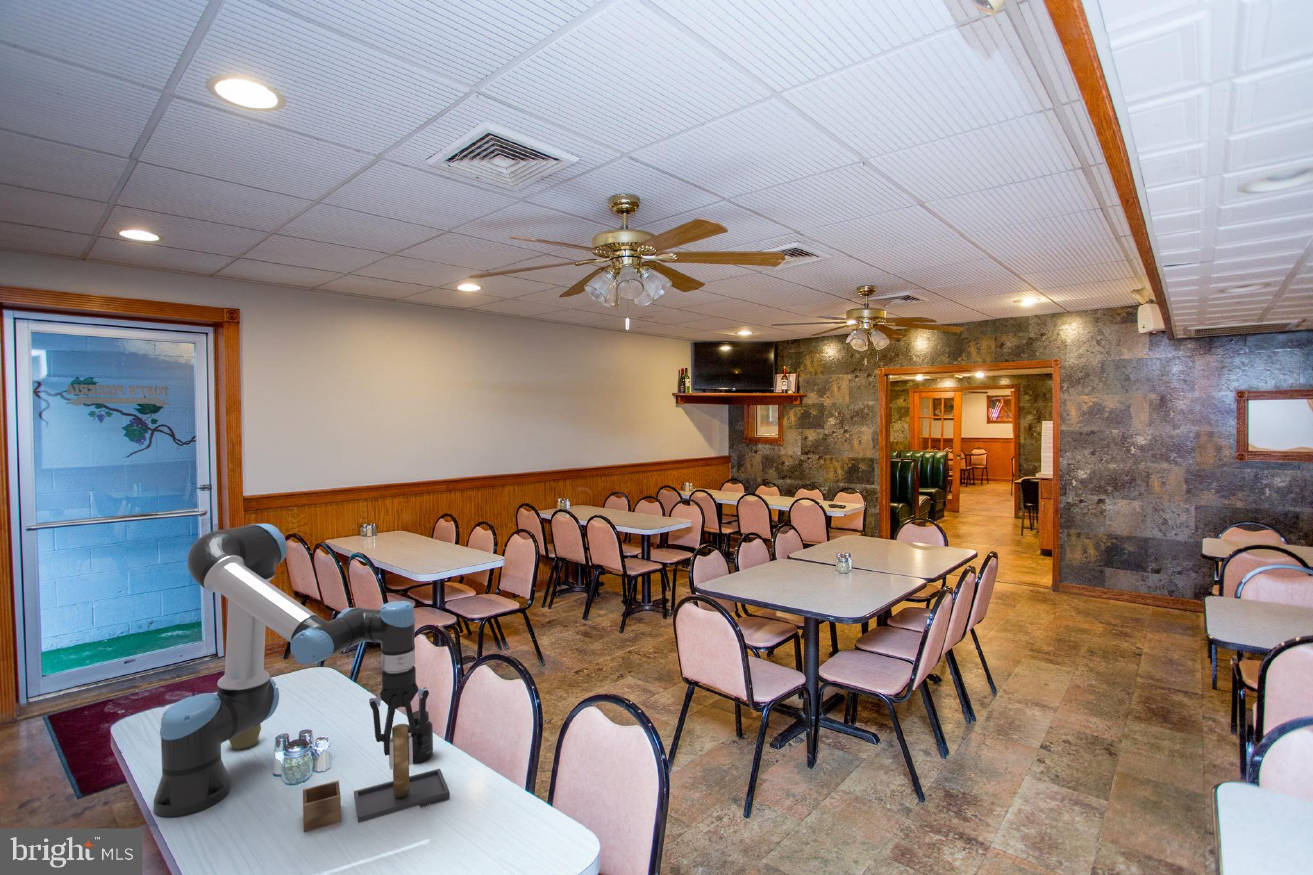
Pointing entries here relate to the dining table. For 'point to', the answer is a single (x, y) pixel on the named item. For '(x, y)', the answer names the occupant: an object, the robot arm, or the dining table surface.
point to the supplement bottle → (423, 740)
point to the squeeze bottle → (246, 738)
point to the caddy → (321, 805)
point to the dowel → (400, 760)
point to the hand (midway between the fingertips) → (400, 764)
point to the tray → (384, 802)
